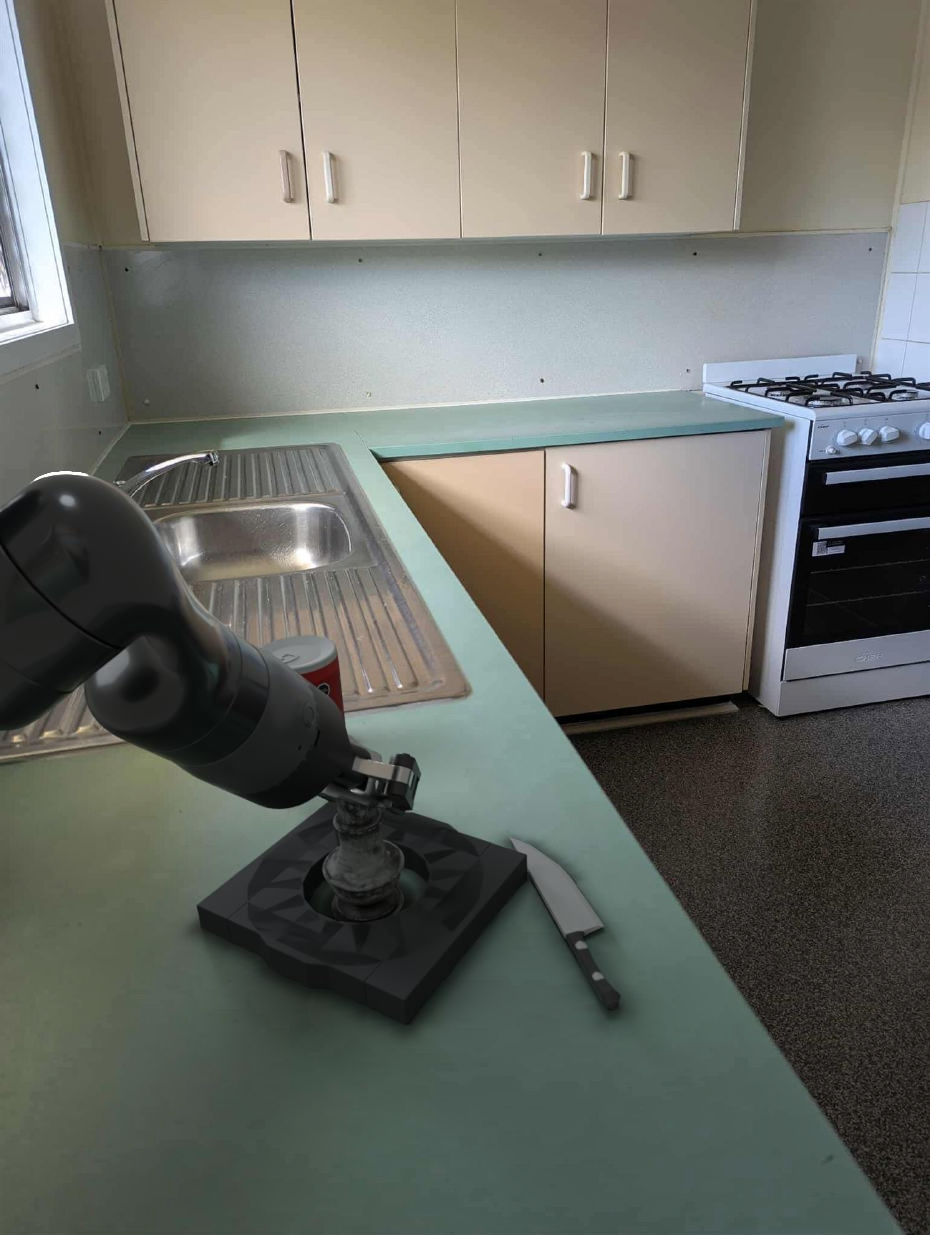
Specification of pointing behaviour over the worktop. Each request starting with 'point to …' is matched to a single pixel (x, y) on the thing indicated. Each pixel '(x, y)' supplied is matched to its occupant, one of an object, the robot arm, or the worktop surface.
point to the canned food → (312, 662)
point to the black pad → (377, 950)
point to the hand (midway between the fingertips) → (371, 794)
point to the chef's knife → (569, 915)
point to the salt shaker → (363, 866)
